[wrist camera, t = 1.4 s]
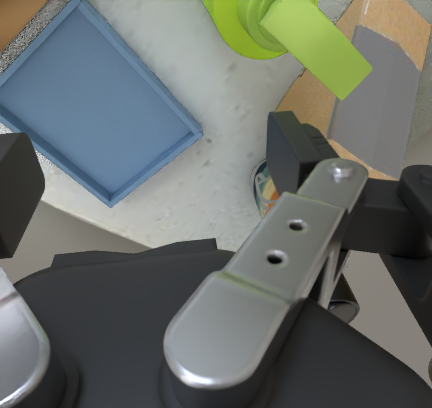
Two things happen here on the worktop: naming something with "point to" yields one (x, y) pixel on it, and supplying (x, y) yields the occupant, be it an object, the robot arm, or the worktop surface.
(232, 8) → the soap dispenser
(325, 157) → the robot arm
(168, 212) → the worktop surface
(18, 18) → the dish rack
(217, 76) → the worktop surface
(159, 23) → the worktop surface
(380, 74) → the sandwich container
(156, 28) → the worktop surface
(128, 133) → the tray
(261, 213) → the lotion bottle
